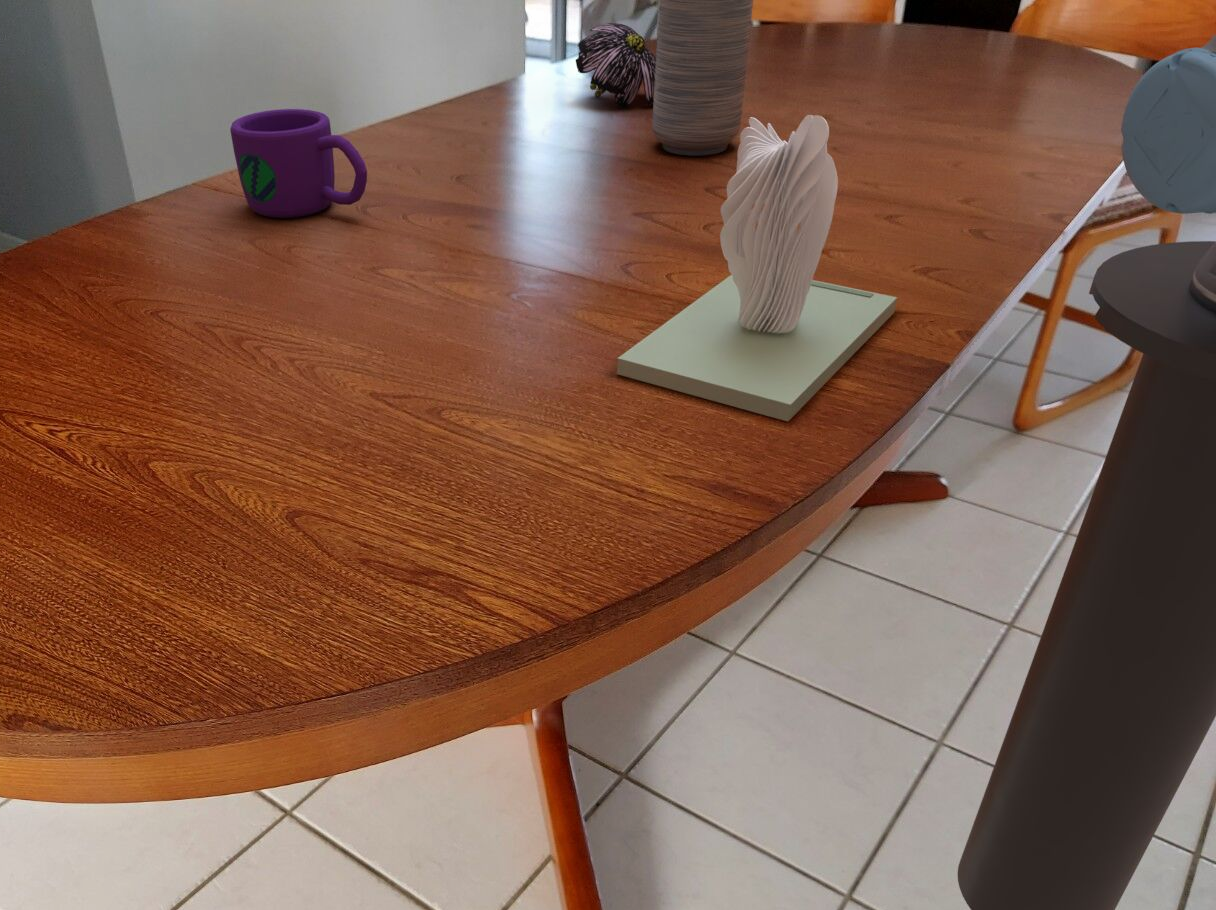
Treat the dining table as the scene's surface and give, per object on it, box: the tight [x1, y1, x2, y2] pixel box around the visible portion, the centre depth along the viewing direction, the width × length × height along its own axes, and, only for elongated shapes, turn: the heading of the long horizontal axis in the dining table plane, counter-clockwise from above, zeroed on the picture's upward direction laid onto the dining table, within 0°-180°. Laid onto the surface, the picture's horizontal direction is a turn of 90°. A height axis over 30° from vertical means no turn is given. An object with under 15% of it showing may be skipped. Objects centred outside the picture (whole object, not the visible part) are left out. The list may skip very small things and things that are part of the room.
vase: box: [651, 0, 754, 157], centre depth 133 cm, size 12×12×23 cm
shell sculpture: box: [719, 114, 839, 333], centre depth 84 cm, size 8×8×18 cm
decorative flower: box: [575, 22, 656, 110], centre depth 160 cm, size 14×12×15 cm
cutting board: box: [616, 274, 898, 423], centre depth 90 cm, size 24×15×2 cm, turn 144°
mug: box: [230, 108, 368, 219], centre depth 120 cm, size 17×11×10 cm, turn 60°
